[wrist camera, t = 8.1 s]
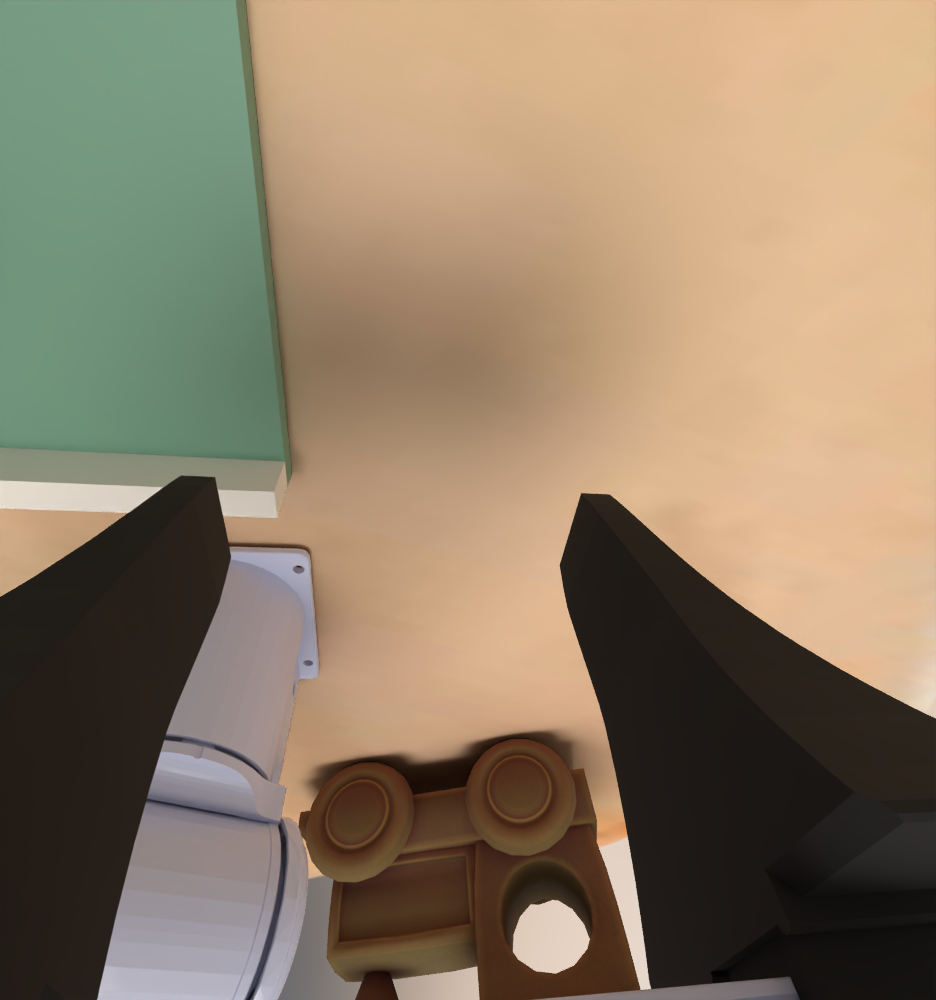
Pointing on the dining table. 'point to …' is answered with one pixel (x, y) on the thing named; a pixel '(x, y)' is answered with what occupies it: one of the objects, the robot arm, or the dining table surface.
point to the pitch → (134, 259)
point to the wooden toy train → (464, 875)
